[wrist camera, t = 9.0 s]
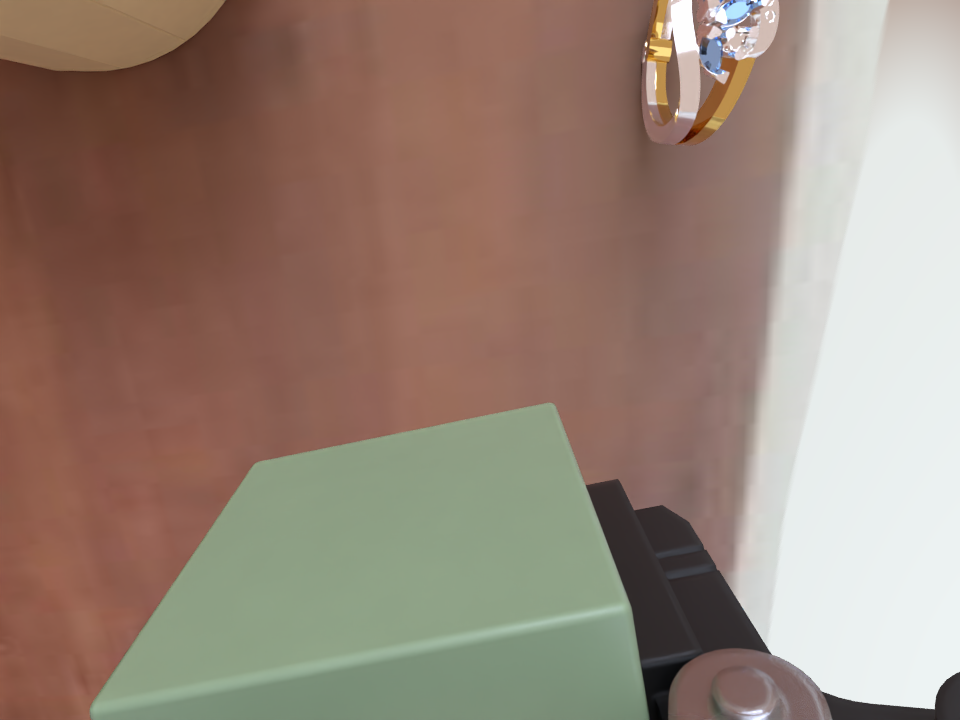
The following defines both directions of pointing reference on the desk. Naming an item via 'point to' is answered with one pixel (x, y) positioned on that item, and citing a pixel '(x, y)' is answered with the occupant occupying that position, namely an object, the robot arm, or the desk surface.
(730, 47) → the ring
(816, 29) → the desk surface
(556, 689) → the block
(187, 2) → the canister
